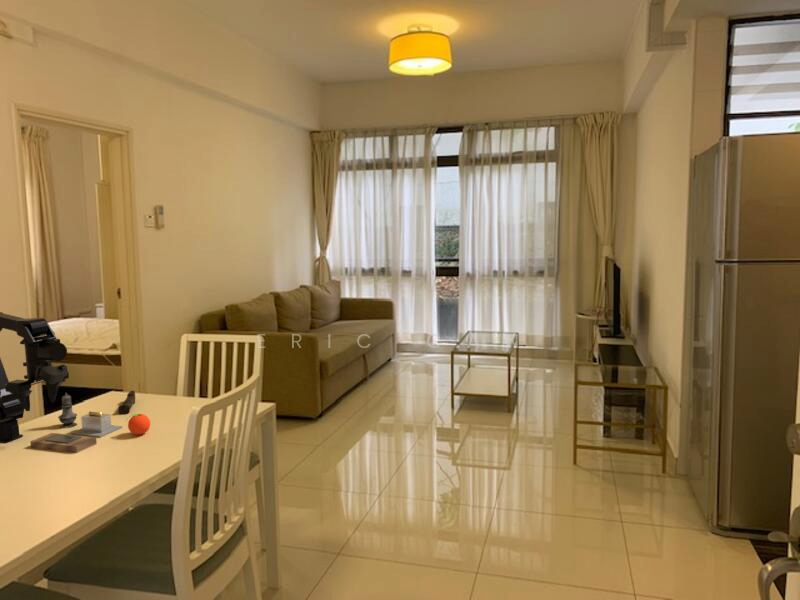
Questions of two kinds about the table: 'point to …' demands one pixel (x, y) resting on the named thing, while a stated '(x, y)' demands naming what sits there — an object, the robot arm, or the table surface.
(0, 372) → the robot arm
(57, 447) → the body
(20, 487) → the table surface
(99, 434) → the rubber mat
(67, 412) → the weathered candle holder
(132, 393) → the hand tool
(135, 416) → the tomato
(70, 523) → the table surface
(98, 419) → the lever cap
